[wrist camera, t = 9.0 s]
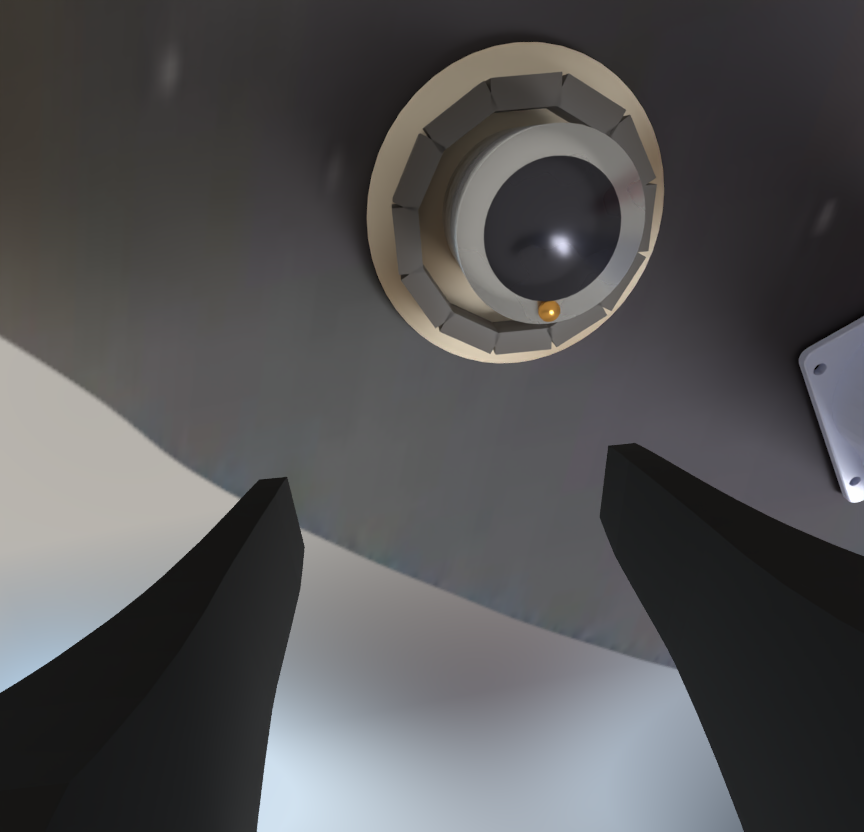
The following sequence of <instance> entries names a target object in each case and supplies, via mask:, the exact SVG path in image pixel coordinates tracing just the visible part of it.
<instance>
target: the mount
mask: <svg viewBox="0 0 864 832" xmlns="http://www.w3.org/2000/svg"><path fill="white" fill-rule="evenodd" d="M549 123H575V124H582V125H585V126H588V127H591V128H594V129H596V130H598V131H600V132H602V133H604V134H606V135H607V136H609V137H610V138H611V139H613V140H614V141H615V142H617V144H618V145H619V146H620V147H621V148H622V149H623V150H624V151H625V152H626V153H627V155H628V156H629V158H630V159H631V160H632V162H633V164H634V166H635V168H636V170H637V172H638V174H639V177H640V180H641V183H642V187H643V192H644V197H645V224H644V230H643V235H642V239H641V242H640V246H639V249H638V251H637V254H636V256H635V258H634V261H633V263H632V264H631V266H630V268H629V270H628V272H627V273H626V275H625V276H624V277H623V279H622V280H621V282H620V283H619V284H618V285H617V286H616V287H615V289H614V290H613V291H612V292H611V293H610V294H609V295H608V296H607V297H605V298H604V299H603V300H602V301H601V302H599V303H598V304H597V305H595V306H594V307H593V308H591V309H589V310H587V311H586V312H584V313H582V314H580V315H578V316H575V317H573V318H571V319H567V320H564V321H560V322H555V323H549V324H531V323H524V322H519V321H515V320H512V319H510V318H507V317H505V316H503V315H501V314H499V313H498V312H496V311H494V310H493V309H492V308H490V307H489V306H488V305H486V304H485V303H484V302H483V301H482V300H481V299H480V298H479V297H478V295H477V294H476V293H475V291H474V290H473V289H472V287H471V286H470V284H469V282H468V280H467V279H466V277H465V275H464V273H463V272H462V270H461V268H460V266H459V265H458V263H457V261H456V259H455V258H454V256H453V254H452V252H451V250H450V248H449V246H448V243H447V241H446V237H445V233H444V227H443V202H444V197H445V193H446V189H447V186H448V183H449V180H450V178H451V176H452V174H453V172H454V170H455V168H456V167H457V165H458V164H459V162H460V161H461V159H462V158H463V157H464V156H465V155H466V154H467V153H468V151H469V150H470V149H472V148H473V147H474V146H475V145H476V144H477V143H479V142H480V141H482V140H483V139H485V138H486V137H488V136H490V135H492V134H494V133H496V132H499V131H502V130H505V129H509V128H515V127H523V126H532V125H540V124H549ZM663 199H664V178H663V166H662V160H661V155H660V149H659V146H658V143H657V139H656V136H655V133H654V130H653V127H652V125H651V123H650V121H649V119H648V117H647V115H646V113H645V111H644V109H643V107H642V106H641V104H640V103H639V101H638V100H637V99H636V97H635V96H634V94H633V93H632V91H631V90H630V89H629V88H628V87H627V86H626V85H625V84H624V83H623V82H622V81H621V79H620V78H619V77H618V76H617V75H615V74H614V73H613V72H611V71H610V70H609V69H608V68H606V67H605V66H604V65H603V64H601V63H600V62H598V61H596V60H594V59H592V58H590V57H589V56H587V55H585V54H583V53H581V52H578V51H575V50H572V49H569V48H566V47H564V46H560V45H554V44H548V43H542V42H515V43H509V44H503V45H497V46H493V47H490V48H487V49H484V50H481V51H478V52H475V53H472V54H470V55H468V56H466V57H464V58H462V59H460V60H458V61H456V62H454V63H452V64H451V65H449V66H448V67H447V68H445V69H444V70H442V71H441V72H440V73H438V74H437V75H435V76H434V77H433V78H431V79H430V80H429V81H428V82H427V83H426V84H425V85H424V86H423V87H422V88H421V89H420V90H419V91H418V92H417V93H415V95H414V96H413V97H412V98H411V100H410V101H409V102H408V103H407V104H406V106H405V107H404V108H403V109H402V111H401V112H400V113H399V115H398V117H397V118H396V120H395V122H394V123H393V125H392V126H391V128H390V130H389V131H388V133H387V135H386V138H385V140H384V142H383V144H382V146H381V149H380V151H379V153H378V156H377V160H376V163H375V166H374V169H373V172H372V176H371V182H370V187H369V193H368V203H367V230H368V241H369V246H370V251H371V256H372V260H373V263H374V266H375V269H376V272H377V275H378V278H379V280H380V282H381V284H382V286H383V289H384V291H385V293H386V295H387V296H388V298H389V299H390V301H391V302H392V304H393V306H394V307H395V309H396V310H397V311H398V312H399V314H400V315H401V316H402V317H403V318H404V319H405V321H406V322H407V323H408V324H409V325H410V326H411V327H412V328H413V329H415V330H416V331H417V332H418V333H419V334H420V335H421V336H423V337H424V338H426V339H427V340H429V341H430V342H431V343H433V344H434V345H436V346H438V347H440V348H442V349H444V350H446V351H448V352H450V353H452V354H455V355H458V356H461V357H464V358H467V359H472V360H476V361H481V362H490V363H516V362H523V361H529V360H534V359H538V358H541V357H545V356H548V355H551V354H553V353H556V352H558V351H561V350H563V349H565V348H567V347H569V346H571V345H573V344H574V343H576V342H578V341H580V340H582V339H583V338H584V337H586V336H587V335H589V334H590V333H591V332H593V331H594V330H596V329H597V328H598V327H599V326H600V325H601V324H603V323H604V322H605V321H606V320H607V319H608V318H609V317H610V316H611V315H612V314H613V313H614V312H615V311H616V310H617V309H618V308H619V307H620V305H621V304H622V303H623V302H624V301H625V299H626V298H627V297H628V295H629V294H630V292H631V291H632V290H633V288H634V287H635V285H636V283H637V282H638V280H639V278H640V277H641V275H642V273H643V271H644V270H645V267H646V265H647V263H648V260H649V258H650V256H651V254H652V251H653V248H654V245H655V242H656V239H657V235H658V232H659V227H660V222H661V217H662V212H663Z"/></svg>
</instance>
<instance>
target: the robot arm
mask: <svg viewBox="0 0 864 832" xmlns="http://www.w3.org/2000/svg"><path fill="white" fill-rule="evenodd" d="M799 365H800V368H801V371H802V374H803V377H804V380H805V383H806V386H807V389H808V392H809V395H810V398H811V401H812V404H813V407H814V410H815V413H816V416H817V419H818V422H819V425H820V428H821V431H822V434H823V437H824V440H825V443H826V446H827V449H828V452H829V455H830V458H831V461H832V464H833V467H834V470H835V473H836V476H837V479H838V482H839V485H840V488H841V491H842V494H843V496H844V498H846V499H847V500H848V501H849V502H852V503H854V502H859V501H862V500H864V316H863V317H861V318H860V319H858V320H856V321H854V322H852V323H851V324H849V325H847V326H845V327H844V328H842V329H840V330H838V331H836V332H835V333H833V334H831V335H829V336H828V337H826V338H824V339H822V340H820V341H819V342H817V343H815V344H813V345H812V346H810V347H808V348H807V349H805V350H804V351H803V352H802V353H801V355H800V357H799ZM817 365H819V366H818V368H817V369H816V370H814V369H815V367H816V366H817ZM600 519H601V522H602V524H603V527H604V529H605V532H606V535H607V537H608V540H609V542H610V545H611V547H612V549H613V552H614V554H615V556H616V558H617V560H618V562H619V564H620V566H621V567H622V569H623V571H624V573H625V575H626V576H627V578H628V580H629V582H630V584H631V585H632V587H633V589H634V591H635V592H636V594H637V596H638V598H639V599H640V601H641V603H642V605H643V606H644V608H645V610H646V612H647V613H648V615H649V617H650V619H651V620H652V622H653V624H654V626H655V627H656V629H657V631H658V633H659V634H660V636H661V638H662V640H663V642H664V643H665V645H666V647H667V649H668V651H669V653H670V655H671V657H672V659H673V661H674V663H675V665H676V667H677V669H678V671H679V674H680V676H681V678H682V680H683V683H684V685H685V687H686V689H687V692H688V694H689V696H690V698H691V701H692V703H693V705H694V707H695V710H696V712H697V714H698V717H699V719H700V722H701V724H702V726H703V729H704V731H705V734H706V736H707V738H708V741H709V743H710V746H711V748H712V750H713V753H714V755H715V757H716V760H717V763H718V765H719V767H720V770H721V773H722V775H723V778H724V780H725V783H726V786H727V788H728V791H729V794H730V796H731V799H732V801H733V804H734V806H735V809H736V811H737V814H738V817H739V819H740V822H741V824H742V827H743V830H744V832H864V556H862V555H859V554H856V553H853V552H851V551H848V550H846V549H843V548H841V547H838V546H835V545H833V544H830V543H828V542H826V541H823V540H821V539H819V538H816V537H814V536H812V535H809V534H807V533H805V532H802V531H800V530H798V529H795V528H793V527H791V526H789V525H786V524H784V523H782V522H780V521H778V520H776V519H774V518H772V517H769V516H767V515H765V514H764V513H762V512H760V511H758V510H756V509H754V508H752V507H750V506H748V505H746V504H744V503H742V502H740V501H738V500H736V499H734V498H732V497H730V496H729V495H727V494H725V493H723V492H721V491H719V490H718V489H716V488H714V487H712V486H710V485H709V484H707V483H705V482H703V481H702V480H700V479H698V478H696V477H695V476H693V475H691V474H689V473H688V472H686V471H684V470H682V469H681V468H679V467H677V466H676V465H674V464H672V463H670V462H669V461H667V460H665V459H664V458H662V457H660V456H658V455H657V454H655V453H653V452H651V451H649V450H648V449H646V448H644V447H642V446H640V445H638V444H636V443H632V444H622V445H611V446H608V453H607V461H606V469H605V478H604V486H603V494H602V502H601V510H600ZM304 548H305V547H304V543H303V539H302V535H301V531H300V527H299V523H298V519H297V515H296V511H295V507H294V503H293V499H292V495H291V491H290V487H289V483H288V479H287V477H282V478H272V479H262V480H259V481H258V482H257V483H256V484H255V485H254V486H253V487H252V488H251V489H250V490H249V491H248V492H247V493H246V494H245V495H244V496H243V497H242V498H241V499H240V500H239V501H238V502H237V504H236V505H235V506H234V507H233V508H232V509H231V510H230V511H229V512H228V513H227V514H226V515H225V516H224V518H222V519H221V520H220V522H218V524H217V525H216V526H215V527H214V528H213V529H212V530H211V531H210V532H209V533H208V534H207V535H206V536H205V537H204V538H203V539H202V540H201V541H200V542H199V543H198V544H197V545H196V546H195V547H194V548H192V550H190V551H189V552H188V553H187V554H186V555H185V556H184V557H183V558H182V559H181V560H180V561H179V562H178V563H177V564H175V566H173V567H172V568H171V569H170V570H169V571H168V572H167V573H166V574H165V575H164V576H163V577H161V578H160V579H159V580H158V581H157V582H156V583H155V584H153V585H152V586H151V587H150V588H149V589H147V590H146V591H145V592H144V593H143V594H141V595H140V596H139V597H138V598H136V599H135V600H134V601H133V602H132V603H130V604H129V605H128V606H126V607H125V608H124V609H123V610H121V611H120V612H119V613H118V614H116V615H115V616H114V617H112V618H111V619H110V620H108V621H107V622H106V623H104V624H103V625H102V626H100V627H99V628H97V629H96V630H94V631H93V632H92V633H90V634H89V635H87V636H86V637H85V638H83V639H82V640H80V641H79V642H77V643H76V644H75V645H73V646H72V647H70V648H69V649H68V650H66V651H65V652H63V653H62V654H61V655H59V656H58V657H56V658H55V659H53V660H52V661H50V662H49V663H47V664H46V665H44V666H43V667H41V668H39V669H38V670H36V671H35V672H33V673H32V674H30V675H29V676H27V677H25V678H24V679H22V680H21V681H19V682H17V683H16V684H14V685H13V686H11V687H9V688H8V689H6V690H5V691H3V692H1V693H0V832H257V823H258V814H259V806H260V798H261V790H262V782H263V773H264V765H265V758H266V750H267V743H268V736H269V729H270V721H271V715H272V708H273V703H274V698H275V693H276V688H277V683H278V680H279V675H280V671H281V667H282V663H283V659H284V655H285V651H286V647H287V642H288V638H289V634H290V630H291V626H292V622H293V617H294V613H295V609H296V604H297V600H298V596H299V592H300V586H301V577H302V569H303V558H304Z"/></svg>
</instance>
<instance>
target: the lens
mask: <svg viewBox="0 0 864 832" xmlns="http://www.w3.org/2000/svg"><path fill="white" fill-rule="evenodd" d="M644 224H645V197H644V192H643V187H642V183H641V180H640V177H639V174H638V172H637V170H636V168H635V166H634V164H633V162H632V160H631V159H630V158H629V156H628V155H627V153H626V152H625V151H624V150H623V149H622V148H621V147H620V146H619V145H618V144H617V142H615V141H614V140H613V139H611V138H610V137H609V136H607V135H606V134H604V133H602V132H600V131H598V130H596V129H594V128H591V127H588V126H585V125H582V124H575V123H549V124H540V125H532V126H523V127H515V128H509V129H505V130H502V131H499V132H496V133H494V134H492V135H490V136H488V137H486V138H485V139H483V140H482V141H480V142H479V143H477V144H476V145H475V146H474V147H473V148H472V149H470V150H469V151H468V153H467V154H466V155H465V156H464V157H463V158H462V159H461V161H460V162H459V164H458V165H457V167H456V168H455V170H454V172H453V174H452V176H451V178H450V180H449V183H448V186H447V189H446V193H445V197H444V202H443V227H444V233H445V237H446V241H447V243H448V246H449V248H450V250H451V252H452V254H453V256H454V258H455V259H456V261H457V263H458V265H459V266H460V268H461V270H462V272H463V273H464V275H465V277H466V279H467V280H468V282H469V284H470V286H471V287H472V289H473V290H474V291H475V293H476V294H477V295H478V297H479V298H480V299H481V300H482V301H483V302H484V303H485V304H486V305H488V306H489V307H490V308H492V309H493V310H494V311H496V312H498V313H499V314H501V315H503V316H505V317H507V318H510V319H512V320H515V321H519V322H524V323H531V324H549V323H555V322H560V321H564V320H567V319H571V318H573V317H575V316H578V315H580V314H582V313H584V312H586V311H587V310H589V309H591V308H593V307H594V306H595V305H597V304H598V303H599V302H601V301H602V300H603V299H604V298H605V297H607V296H608V295H609V294H610V293H611V292H612V291H613V290H614V289H615V287H616V286H617V285H618V284H619V283H620V282H621V280H622V279H623V277H624V276H625V275H626V273H627V272H628V270H629V268H630V266H631V264H632V263H633V261H634V258H635V256H636V254H637V251H638V249H639V246H640V242H641V239H642V235H643V230H644Z"/></svg>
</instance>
